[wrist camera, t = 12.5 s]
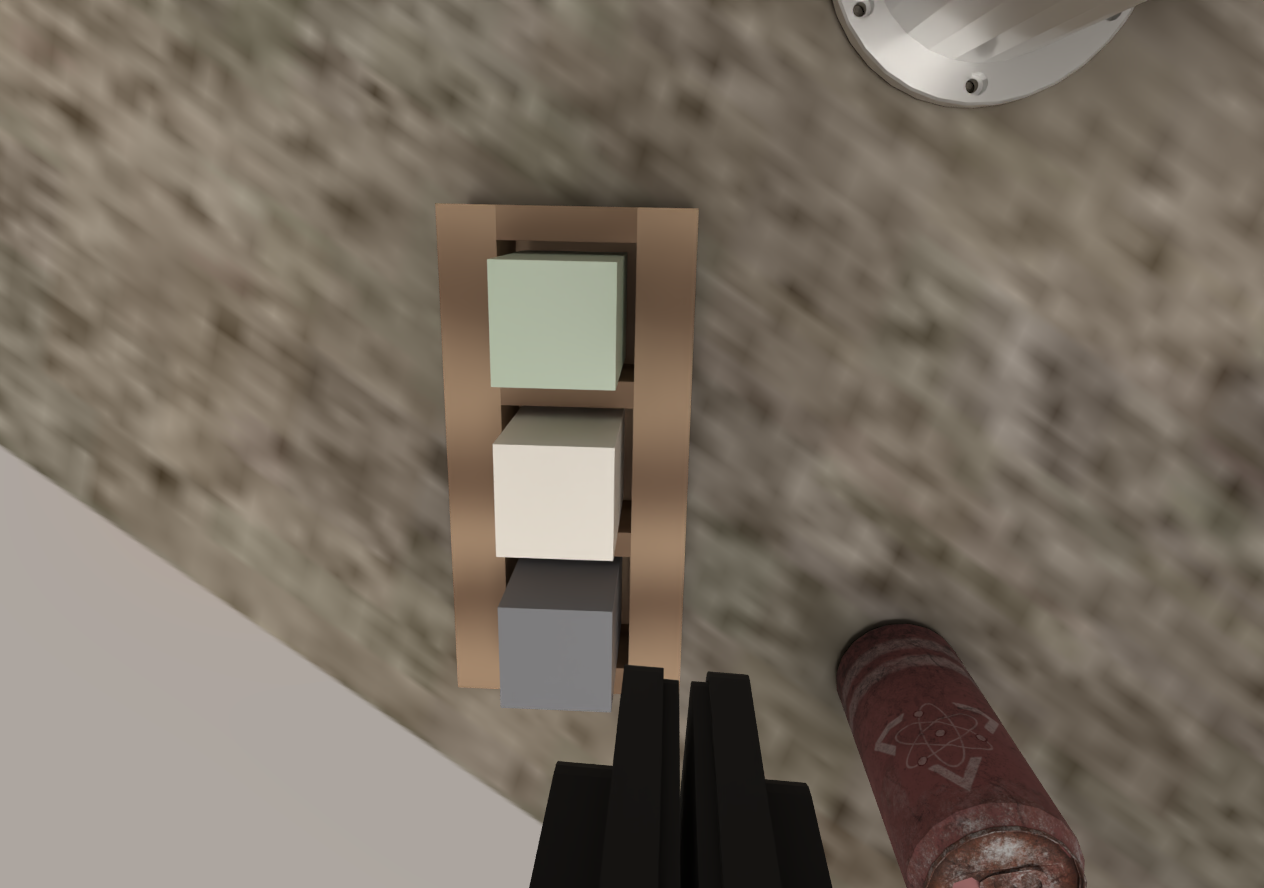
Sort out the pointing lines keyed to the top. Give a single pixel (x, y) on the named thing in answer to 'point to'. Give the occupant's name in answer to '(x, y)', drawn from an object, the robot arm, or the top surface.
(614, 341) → the key sage
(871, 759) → the can
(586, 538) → the key ivory
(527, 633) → the key charcoal
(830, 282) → the top surface
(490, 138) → the top surface
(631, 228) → the brown wooden block rack
